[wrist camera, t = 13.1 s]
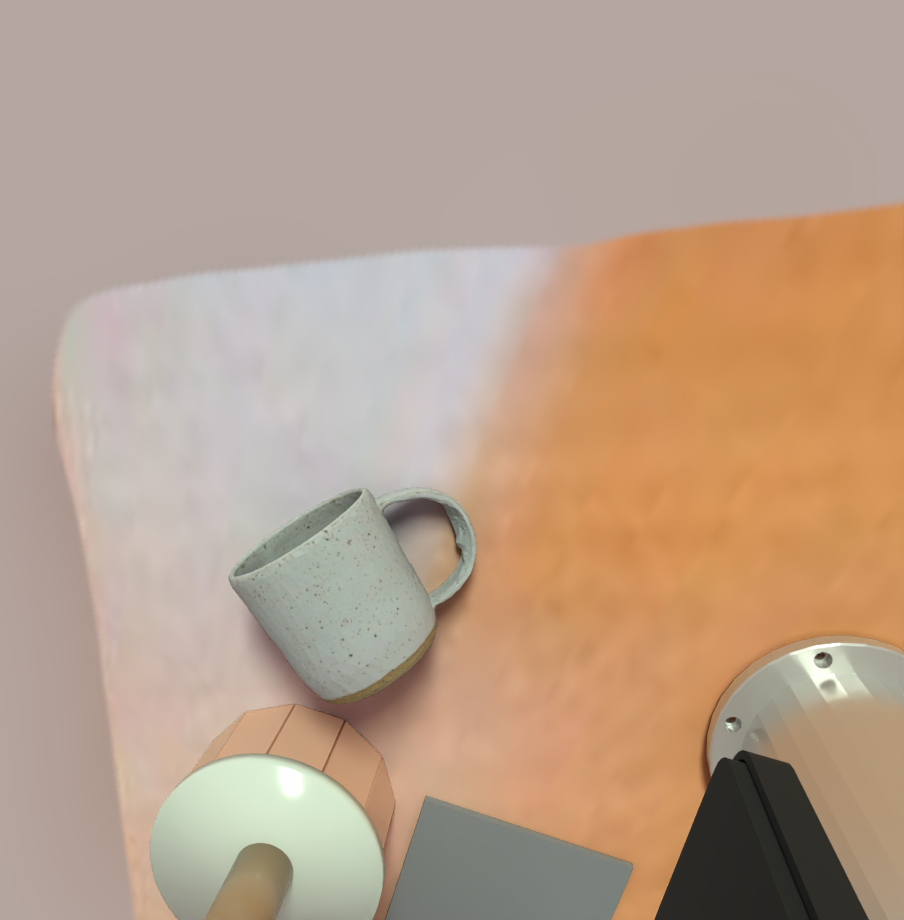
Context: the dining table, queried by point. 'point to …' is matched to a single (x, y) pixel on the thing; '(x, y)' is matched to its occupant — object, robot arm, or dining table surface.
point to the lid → (265, 844)
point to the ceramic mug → (348, 592)
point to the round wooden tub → (314, 752)
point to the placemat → (500, 872)
